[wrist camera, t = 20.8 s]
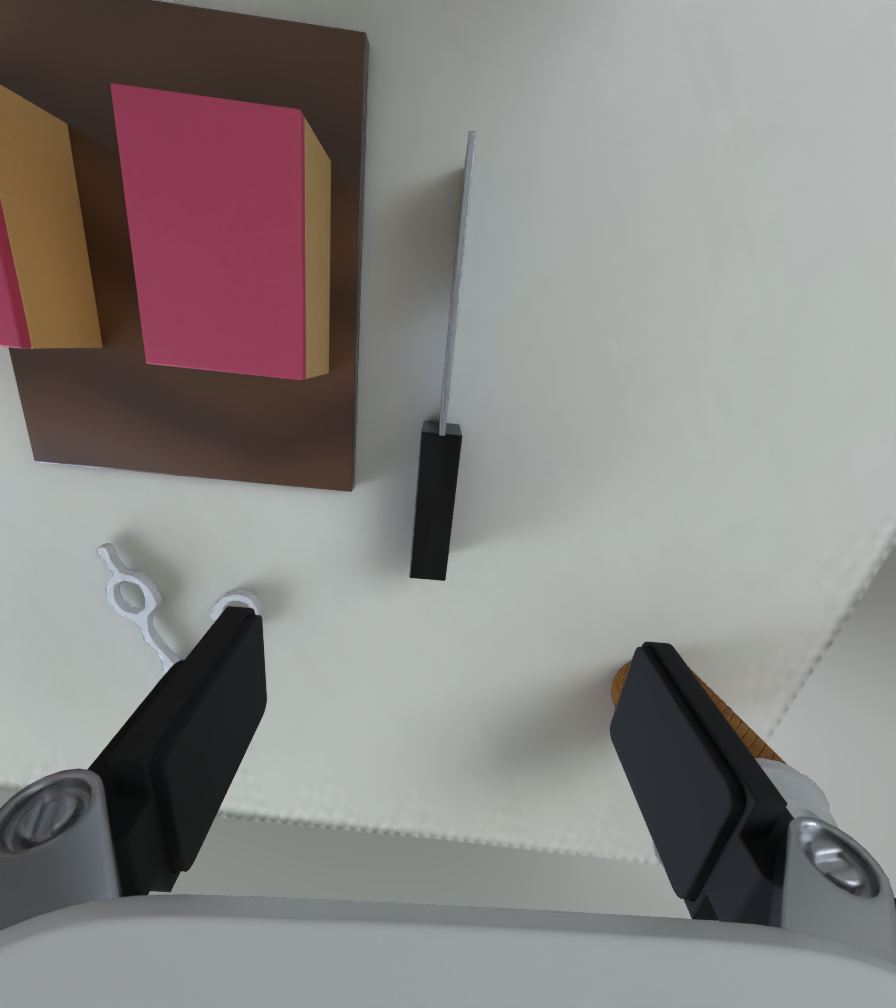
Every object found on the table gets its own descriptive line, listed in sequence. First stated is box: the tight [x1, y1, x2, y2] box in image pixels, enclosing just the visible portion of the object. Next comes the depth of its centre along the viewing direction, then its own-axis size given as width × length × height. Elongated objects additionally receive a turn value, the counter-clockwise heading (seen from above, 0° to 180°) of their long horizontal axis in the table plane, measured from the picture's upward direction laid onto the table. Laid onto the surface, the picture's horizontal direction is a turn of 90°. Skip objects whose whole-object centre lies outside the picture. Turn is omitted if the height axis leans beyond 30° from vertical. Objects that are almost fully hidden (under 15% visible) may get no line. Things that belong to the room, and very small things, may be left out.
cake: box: [111, 83, 331, 380], centre depth 20 cm, size 10×7×5 cm
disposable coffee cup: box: [611, 661, 838, 867], centre depth 28 cm, size 10×10×12 cm
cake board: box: [0, 0, 369, 492], centre depth 23 cm, size 22×19×1 cm
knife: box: [409, 131, 476, 581], centre depth 24 cm, size 22×2×4 cm, turn 174°
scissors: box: [97, 543, 262, 675], centre depth 32 cm, size 11×1×20 cm
